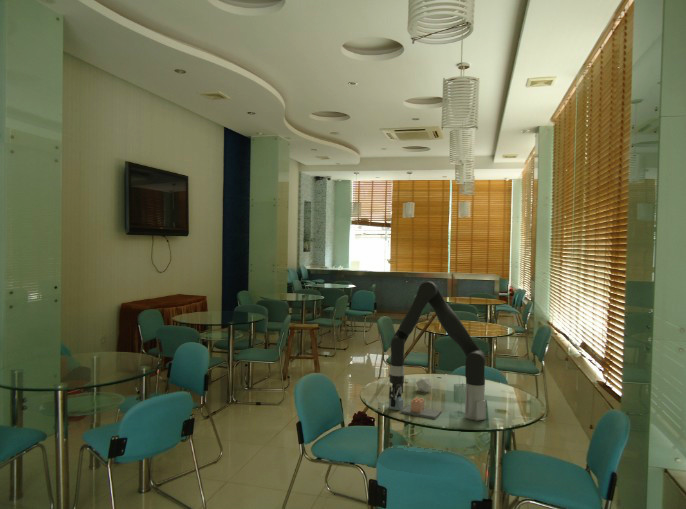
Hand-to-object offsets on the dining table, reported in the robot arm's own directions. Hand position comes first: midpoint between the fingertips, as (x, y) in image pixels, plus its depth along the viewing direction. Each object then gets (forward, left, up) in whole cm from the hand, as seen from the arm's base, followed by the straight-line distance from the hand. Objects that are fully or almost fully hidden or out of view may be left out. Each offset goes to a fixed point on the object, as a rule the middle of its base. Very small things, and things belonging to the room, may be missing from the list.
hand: (395, 404), depth 271 cm
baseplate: (-12, -7, -2) cm, 14 cm away
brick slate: (0, 0, -2) cm, 2 cm away
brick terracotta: (-11, -6, -1) cm, 12 cm away
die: (+19, -33, -2) cm, 38 cm away
